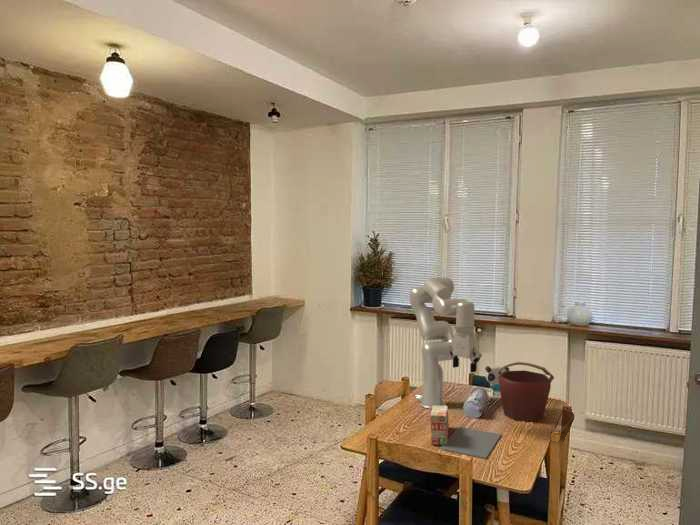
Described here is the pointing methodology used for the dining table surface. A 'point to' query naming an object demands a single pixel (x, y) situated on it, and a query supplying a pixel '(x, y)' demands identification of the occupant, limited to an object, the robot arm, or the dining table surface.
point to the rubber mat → (472, 442)
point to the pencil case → (476, 403)
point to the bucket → (524, 393)
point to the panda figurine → (494, 380)
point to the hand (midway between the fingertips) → (464, 369)
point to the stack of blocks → (439, 425)
